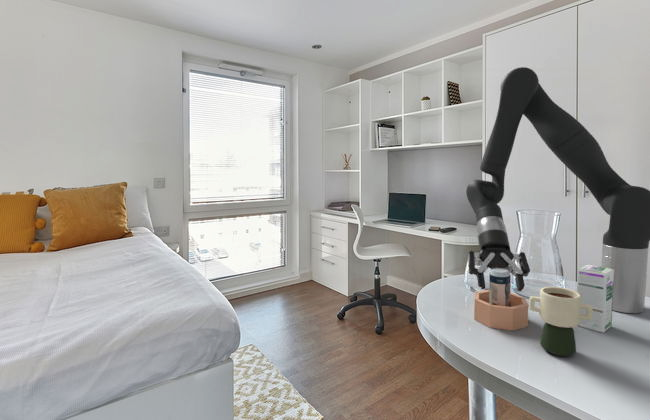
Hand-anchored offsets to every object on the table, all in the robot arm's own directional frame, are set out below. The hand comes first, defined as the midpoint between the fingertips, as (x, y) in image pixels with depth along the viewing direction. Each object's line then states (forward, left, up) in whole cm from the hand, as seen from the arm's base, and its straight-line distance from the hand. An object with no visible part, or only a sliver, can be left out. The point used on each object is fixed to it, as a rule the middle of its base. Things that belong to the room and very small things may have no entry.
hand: (501, 289), depth 86 cm
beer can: (-1, -1, -8) cm, 8 cm away
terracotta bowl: (-1, -1, -8) cm, 9 cm away
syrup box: (-18, +11, -9) cm, 23 cm away
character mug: (+1, +15, -9) cm, 18 cm away
